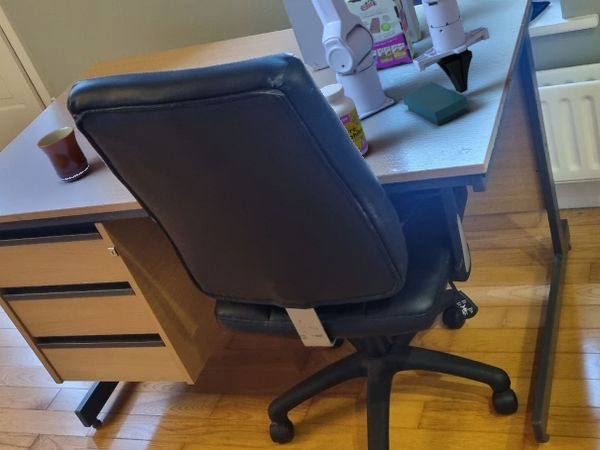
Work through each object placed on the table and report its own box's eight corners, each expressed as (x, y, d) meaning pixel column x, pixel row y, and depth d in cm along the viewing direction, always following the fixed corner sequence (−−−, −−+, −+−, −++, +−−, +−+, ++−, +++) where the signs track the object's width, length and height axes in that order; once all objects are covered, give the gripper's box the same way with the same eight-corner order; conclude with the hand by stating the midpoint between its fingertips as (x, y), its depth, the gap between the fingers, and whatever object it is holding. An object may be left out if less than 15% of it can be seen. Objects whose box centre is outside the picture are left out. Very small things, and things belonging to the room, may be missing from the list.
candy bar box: (415, 53, 169) (395, -20, 161) (413, 62, 165) (392, -12, 157) (367, 64, 173) (344, -6, 165) (363, 74, 169) (340, 2, 161)
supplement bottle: (345, 167, 135) (322, 102, 129) (327, 158, 141) (304, 95, 134) (376, 149, 137) (354, 84, 131) (357, 141, 142) (335, 77, 136)
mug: (101, 167, 176) (79, 127, 171) (69, 188, 172) (46, 148, 167) (77, 161, 185) (56, 123, 180) (46, 180, 181) (24, 143, 176)
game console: (422, 40, 174) (398, -47, 165) (308, 73, 182) (279, -8, 172) (421, 31, 179) (398, -53, 169) (310, 64, 186) (282, -16, 177)
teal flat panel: (406, 110, 146) (401, 96, 145) (435, 95, 147) (431, 81, 146) (439, 127, 136) (434, 112, 134) (470, 111, 137) (466, 96, 135)
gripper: (419, 41, 131) (439, 112, 137) (491, 6, 133) (507, 78, 140) (400, 35, 137) (419, 103, 143) (469, 1, 139) (485, 70, 146)
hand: (461, 90), depth 142 cm, fingers closed
